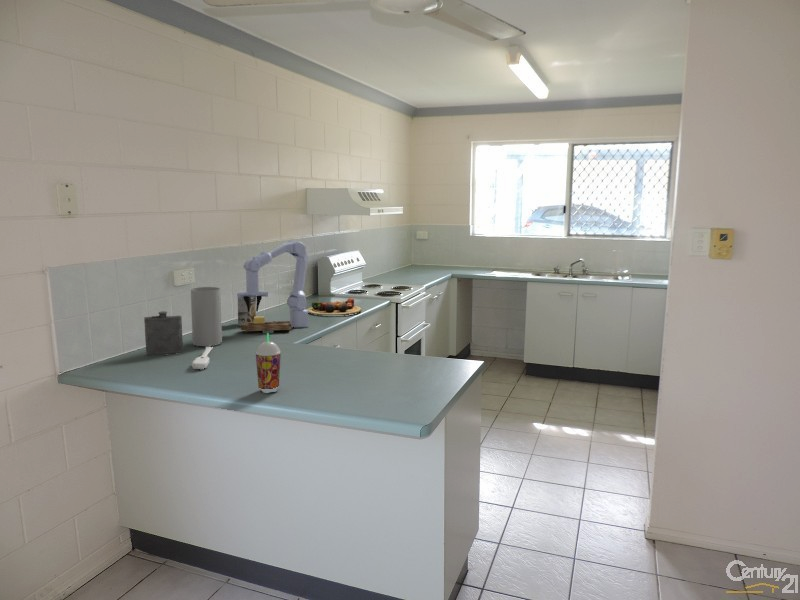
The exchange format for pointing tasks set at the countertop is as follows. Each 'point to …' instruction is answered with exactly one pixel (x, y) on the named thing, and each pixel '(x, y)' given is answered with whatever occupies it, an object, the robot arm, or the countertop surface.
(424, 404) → the countertop surface
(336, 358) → the countertop surface
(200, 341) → the cylinder vase
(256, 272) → the robot arm
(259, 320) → the block
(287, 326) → the brown wooden tray
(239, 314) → the coffee box
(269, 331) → the fulcrum
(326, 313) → the wooden plate with food
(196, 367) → the spatula
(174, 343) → the flask
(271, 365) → the smoothie
